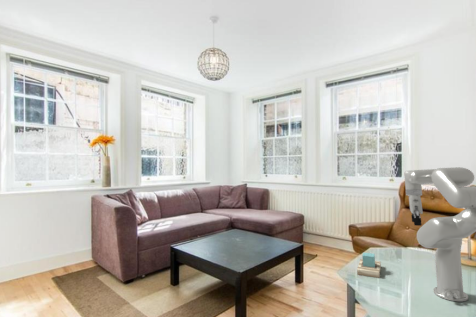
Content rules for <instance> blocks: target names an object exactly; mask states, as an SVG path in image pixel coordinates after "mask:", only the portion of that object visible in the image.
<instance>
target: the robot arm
mask: <svg viewBox="0 0 476 317" xmlns="http://www.w3.org/2000/svg"><path fill="white" fill-rule="evenodd" d="M403 178H404V186H405V196H408V204H409V210H410V212H411V222H412V223H413V225H414V226H419V229H418V230H417V232H416V240H417V242H418V243H419V245H420V246H422V247H424V248H425V249H436V250H435V254H434V262H435V274H436V276H435V277H436V287H434V288H433V293H434V294H435V296H437V297H439V298H442V299H445V300H447V301H452V302H461V303H462V302H467V301H469V295H468V294H467V293H466V292H465V291H464V284H463V269H462V254H461V251H462V245H463V244H462V243H463V239H466V238H469V237H470V236H471V235H473V234H474V233H476V186H475V185H474V186H473V185H472V186H471V184H472V183H473V182H474V181H475V174H474V173H473V172H472V170H470V169H469V168H466V167H438V168H434V169H432V168H431V169H429V168H428V169H413V170H405V171H404V177H403ZM430 184H433V185H434V187H435V189H437V190H438V192H439V193H440V194H441V196H442V197H443V198H444V199H445V200H446V201H447V203H448V204H449V205H450V206H452V207H453V208H456V209H463V210H462V211H460V212H459V213H458V214H456V215H454V216H438V217H433V218H430V219H429V220H428V221H426V222H425V223H424V224H422V217H421V215H422V214H423V213H424V212H423V204H422V198H421V196H423V190H422V189H423V188H422V187H423V186H422V185H430Z"/></svg>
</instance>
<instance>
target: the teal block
mask: <svg viewBox="0 0 476 317" xmlns="http://www.w3.org/2000/svg"><path fill="white" fill-rule="evenodd" d="M362 259H363V266H367V267H374V268H375V261H376V255H375V253H373V252H372V253H370V252H362Z"/></svg>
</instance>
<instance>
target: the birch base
mask: <svg viewBox="0 0 476 317" xmlns="http://www.w3.org/2000/svg"><path fill="white" fill-rule="evenodd" d="M381 263H382V262H381V261H378V260H375V268H374V267H367V266H363V258H360V260H359V263H358V265H357V268H356V273H357V276H363V277H369V278H370V277H371V278H377V279H380V276H381V275H380V274H381V268H382V264H381Z"/></svg>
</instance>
